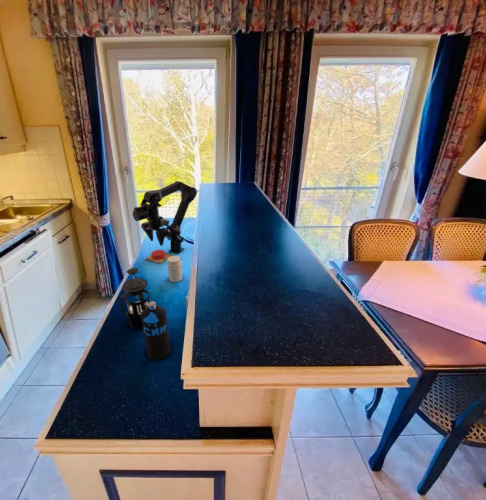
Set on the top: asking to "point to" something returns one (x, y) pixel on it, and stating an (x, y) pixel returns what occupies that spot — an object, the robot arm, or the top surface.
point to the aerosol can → (156, 331)
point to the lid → (158, 254)
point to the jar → (174, 268)
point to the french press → (135, 289)
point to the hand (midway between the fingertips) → (156, 243)
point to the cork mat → (159, 259)
